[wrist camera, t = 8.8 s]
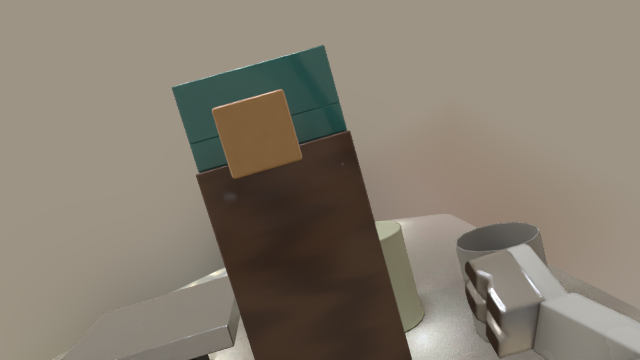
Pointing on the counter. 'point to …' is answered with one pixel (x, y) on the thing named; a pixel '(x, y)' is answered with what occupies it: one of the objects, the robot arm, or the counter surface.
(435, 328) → the counter surface
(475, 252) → the cup
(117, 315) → the scale
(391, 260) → the can
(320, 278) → the plinth
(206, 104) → the teal handled box
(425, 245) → the counter surface
